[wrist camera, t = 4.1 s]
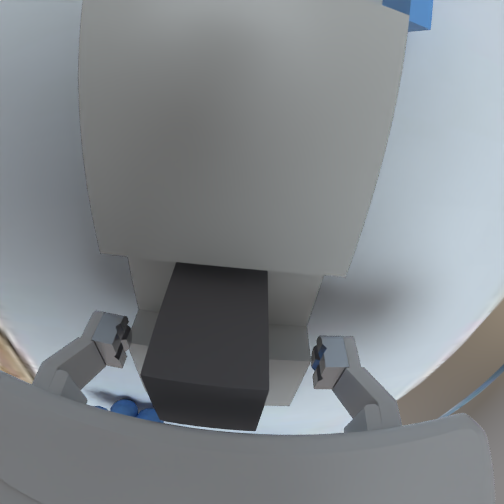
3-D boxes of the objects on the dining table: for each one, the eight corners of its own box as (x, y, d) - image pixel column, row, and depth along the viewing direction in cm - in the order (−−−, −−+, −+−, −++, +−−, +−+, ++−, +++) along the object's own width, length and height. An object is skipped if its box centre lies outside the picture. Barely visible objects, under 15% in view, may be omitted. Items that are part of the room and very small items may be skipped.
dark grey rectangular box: (186, 304, 16) (159, 420, 11) (182, 245, 14) (140, 375, 8) (257, 311, 16) (255, 431, 11) (267, 253, 14) (269, 390, 8)
